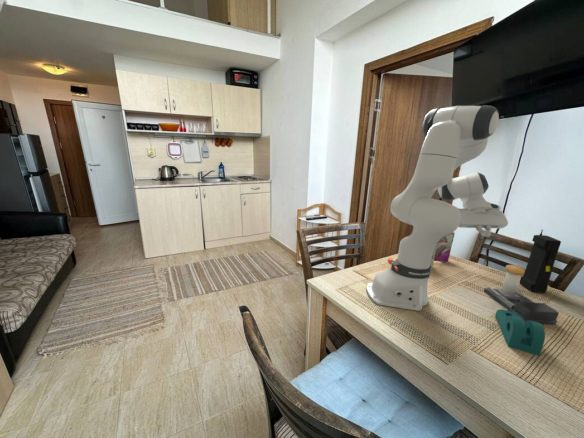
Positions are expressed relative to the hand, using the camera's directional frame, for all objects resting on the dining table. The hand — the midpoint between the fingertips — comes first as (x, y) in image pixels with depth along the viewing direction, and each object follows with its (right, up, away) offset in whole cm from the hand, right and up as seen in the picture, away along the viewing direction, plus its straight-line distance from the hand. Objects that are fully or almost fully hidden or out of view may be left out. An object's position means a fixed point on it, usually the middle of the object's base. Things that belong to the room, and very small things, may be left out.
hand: (486, 236), depth 104 cm
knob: (-2, -22, -12) cm, 25 cm away
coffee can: (-20, -16, +16) cm, 30 cm away
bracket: (-15, -29, -28) cm, 43 cm away
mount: (-2, -25, -16) cm, 30 cm away
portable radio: (+17, -22, -3) cm, 28 cm away
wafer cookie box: (-9, -14, +23) cm, 28 cm away
